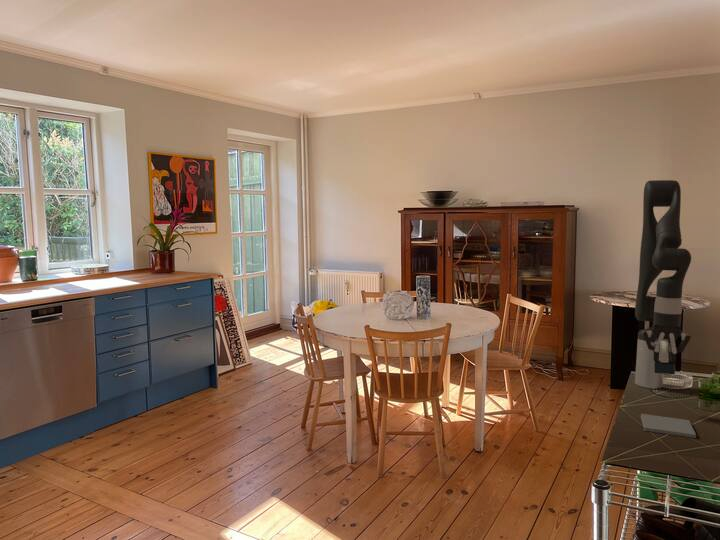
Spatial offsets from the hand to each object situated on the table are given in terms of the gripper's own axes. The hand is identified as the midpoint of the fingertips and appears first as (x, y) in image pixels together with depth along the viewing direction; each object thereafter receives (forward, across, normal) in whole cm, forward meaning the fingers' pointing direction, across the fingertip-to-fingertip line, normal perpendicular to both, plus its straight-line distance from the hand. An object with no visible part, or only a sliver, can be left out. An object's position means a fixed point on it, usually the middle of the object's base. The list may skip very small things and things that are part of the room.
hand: (664, 363), depth 174 cm
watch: (+3, 0, 0) cm, 3 cm away
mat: (+15, 0, +15) cm, 22 cm away
